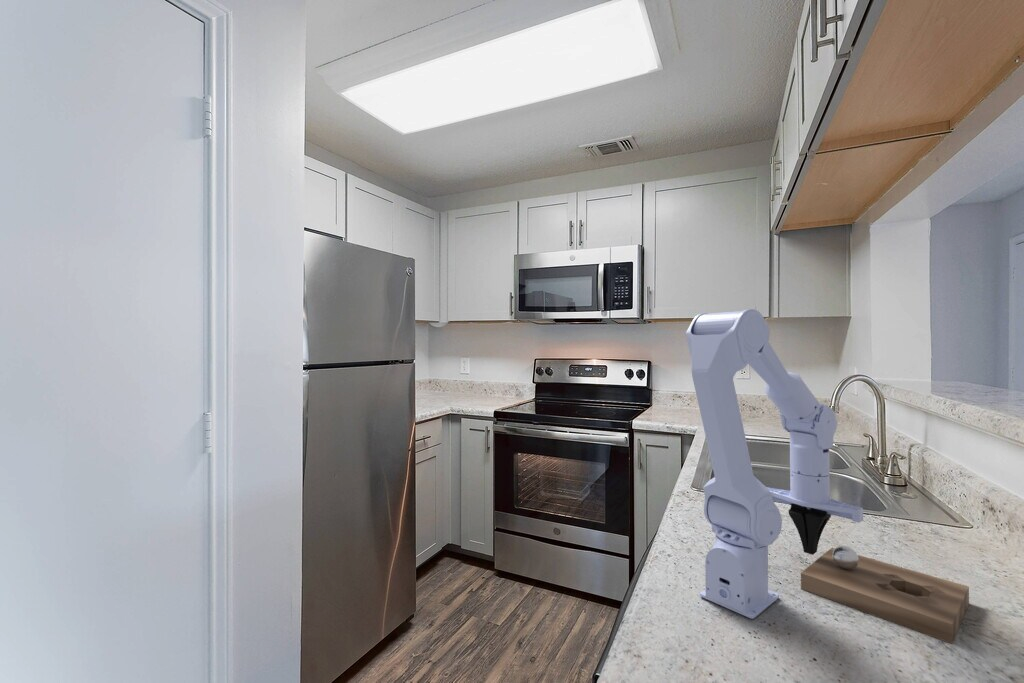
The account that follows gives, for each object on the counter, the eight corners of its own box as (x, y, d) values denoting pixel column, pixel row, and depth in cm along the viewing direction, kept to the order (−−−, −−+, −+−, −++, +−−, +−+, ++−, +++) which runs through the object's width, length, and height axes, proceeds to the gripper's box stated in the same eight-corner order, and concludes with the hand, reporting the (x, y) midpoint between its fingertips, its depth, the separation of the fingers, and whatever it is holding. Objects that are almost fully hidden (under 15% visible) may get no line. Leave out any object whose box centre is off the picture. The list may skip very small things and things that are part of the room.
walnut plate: (952, 643, 59) (952, 624, 59) (800, 588, 73) (800, 573, 73) (969, 603, 69) (968, 586, 69) (832, 561, 82) (832, 547, 82)
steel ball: (855, 575, 72) (855, 553, 72) (829, 567, 75) (829, 545, 75) (861, 568, 74) (861, 547, 74) (836, 561, 77) (836, 540, 77)
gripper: (868, 477, 75) (869, 560, 75) (773, 460, 87) (774, 532, 86) (855, 485, 71) (856, 573, 71) (757, 466, 82) (758, 542, 82)
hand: (810, 551), depth 78 cm, fingers closed
